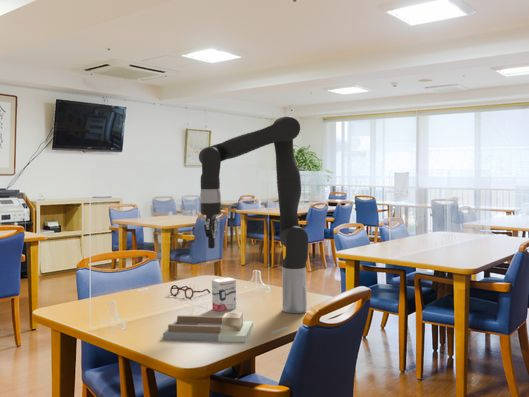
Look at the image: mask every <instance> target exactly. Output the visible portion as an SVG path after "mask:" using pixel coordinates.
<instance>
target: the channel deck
mask: <svg viewBox="0 0 529 397" xmlns="http://www.w3.org/2000/svg"><path fill="white" fill-rule="evenodd" d="M222 317H223V316H210V315H203V316H202V315H181V314H179V315H177V316H176V320H175V321H174V322H172V324H171V323H170V324H168V325H167V329H166V330H165V331H164V332H163V333H162V337H163V338H162V340H169V339H172V340H174V341H201V342H202V341H203V342H204V341H205V342H225V343H226V342H228V343H229V342H231V343H232V342H233V343H247V340H248V339H249V336H250V335H251V333H252V330H253V329H254V321H253V320H243V327H242V329H241V330H240V331H222Z"/></svg>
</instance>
